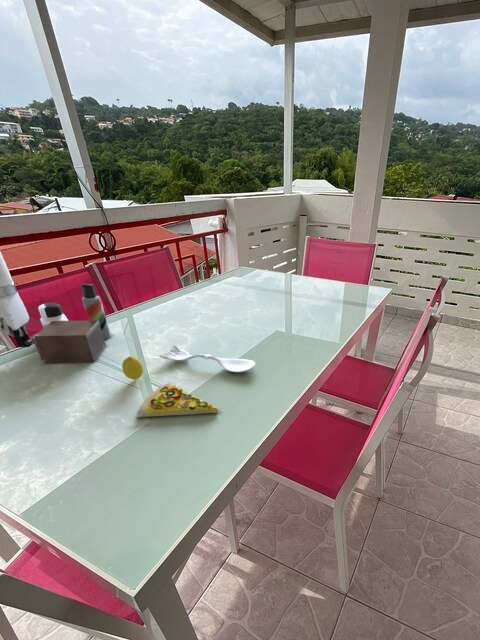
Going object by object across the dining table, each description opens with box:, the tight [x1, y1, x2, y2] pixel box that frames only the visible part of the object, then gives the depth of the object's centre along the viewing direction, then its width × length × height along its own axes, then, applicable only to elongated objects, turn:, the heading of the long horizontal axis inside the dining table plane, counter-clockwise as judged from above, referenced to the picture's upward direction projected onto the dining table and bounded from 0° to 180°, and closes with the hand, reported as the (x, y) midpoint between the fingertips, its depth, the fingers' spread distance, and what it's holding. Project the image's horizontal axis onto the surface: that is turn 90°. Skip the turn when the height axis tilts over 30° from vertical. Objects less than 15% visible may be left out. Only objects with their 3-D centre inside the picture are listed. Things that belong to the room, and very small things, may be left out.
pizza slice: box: [137, 382, 219, 418], centre depth 91 cm, size 16×21×3 cm
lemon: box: [121, 355, 144, 381], centre depth 100 cm, size 6×6×8 cm
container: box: [37, 302, 69, 329], centre depth 119 cm, size 8×8×13 cm
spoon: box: [158, 344, 256, 373], centre depth 111 cm, size 9×32×4 cm, turn 77°
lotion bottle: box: [80, 283, 112, 340], centre depth 120 cm, size 6×6×20 cm
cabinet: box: [34, 320, 107, 364], centre depth 111 cm, size 15×13×10 cm
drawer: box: [25, 333, 45, 361], centre depth 110 cm, size 18×11×8 cm, turn 100°
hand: (25, 346), depth 109 cm, fingers closed
